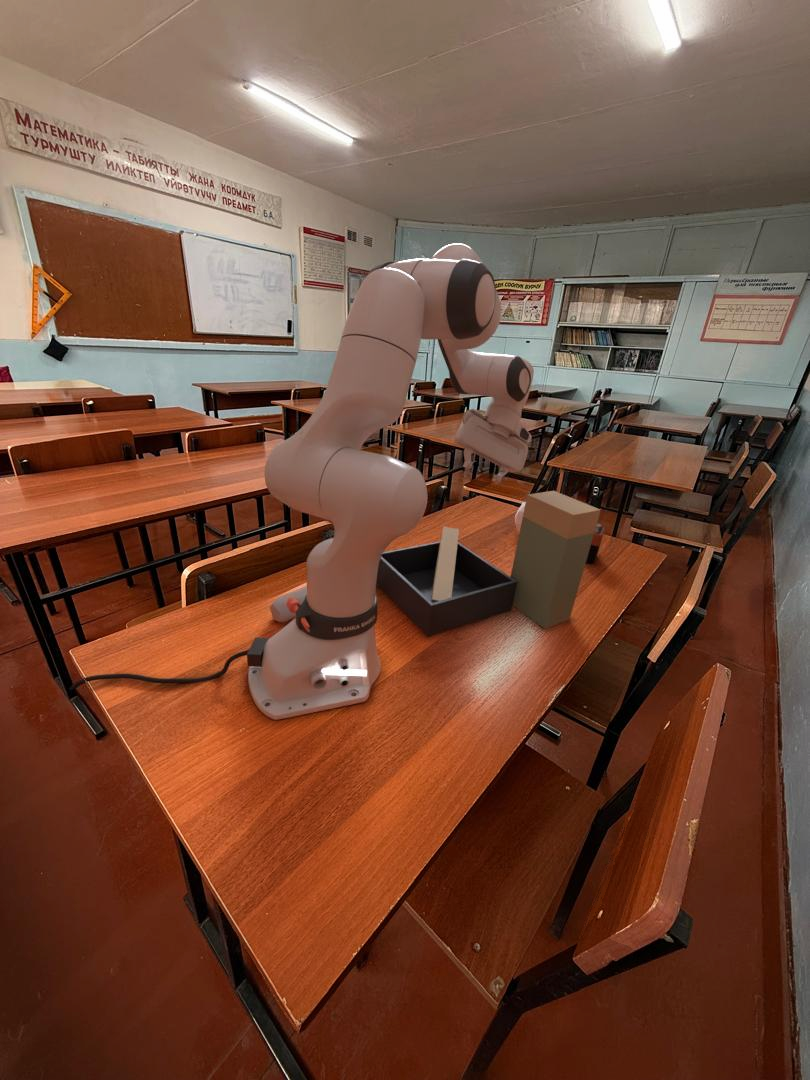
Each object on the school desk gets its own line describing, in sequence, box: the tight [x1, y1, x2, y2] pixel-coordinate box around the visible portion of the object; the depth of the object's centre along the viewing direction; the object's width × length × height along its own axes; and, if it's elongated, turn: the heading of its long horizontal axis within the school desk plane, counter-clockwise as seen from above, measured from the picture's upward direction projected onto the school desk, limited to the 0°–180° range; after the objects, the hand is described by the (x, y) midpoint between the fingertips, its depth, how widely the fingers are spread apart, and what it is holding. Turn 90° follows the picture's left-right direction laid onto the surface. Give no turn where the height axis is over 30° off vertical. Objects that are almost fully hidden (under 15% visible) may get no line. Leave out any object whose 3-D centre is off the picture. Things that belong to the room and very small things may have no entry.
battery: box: [586, 523, 605, 565], centre depth 123 cm, size 4×7×10 cm, turn 150°
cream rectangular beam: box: [431, 525, 460, 603], centre depth 101 cm, size 4×24×4 cm, turn 173°
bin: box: [376, 540, 517, 638], centre depth 100 cm, size 23×24×8 cm
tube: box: [269, 586, 307, 624], centre depth 94 cm, size 5×5×25 cm
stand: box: [510, 490, 601, 630], centre depth 93 cm, size 8×12×26 cm, turn 31°
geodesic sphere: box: [514, 501, 526, 534], centre depth 130 cm, size 15×14×14 cm
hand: (481, 475), depth 110 cm, fingers open, 8 cm apart
